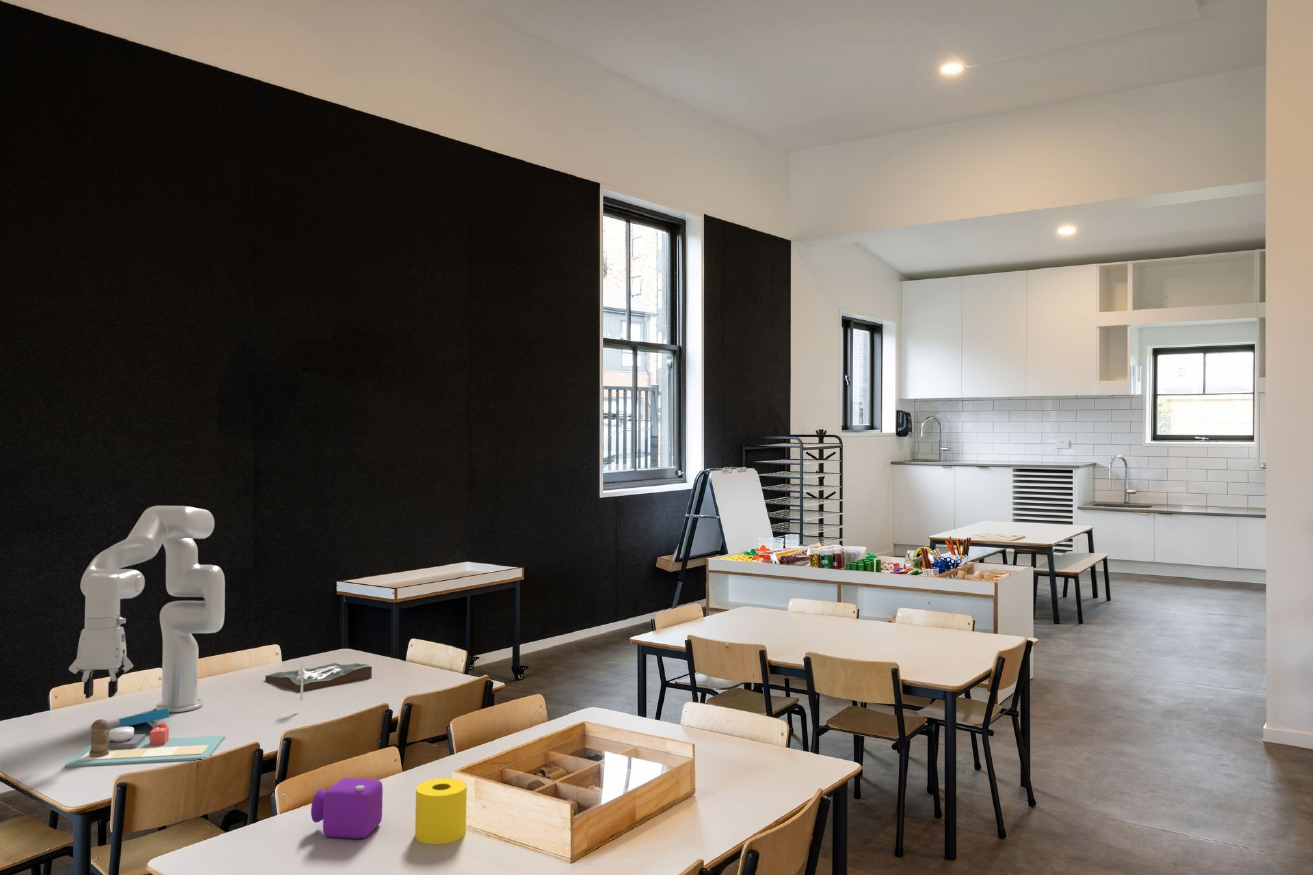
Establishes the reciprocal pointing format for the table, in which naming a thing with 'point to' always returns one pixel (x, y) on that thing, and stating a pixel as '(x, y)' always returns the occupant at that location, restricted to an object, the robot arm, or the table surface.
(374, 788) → the toy camera
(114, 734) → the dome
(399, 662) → the table surface
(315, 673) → the relief map
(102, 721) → the pawn
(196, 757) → the board
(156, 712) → the lever
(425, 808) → the yellow toilet paper roll
